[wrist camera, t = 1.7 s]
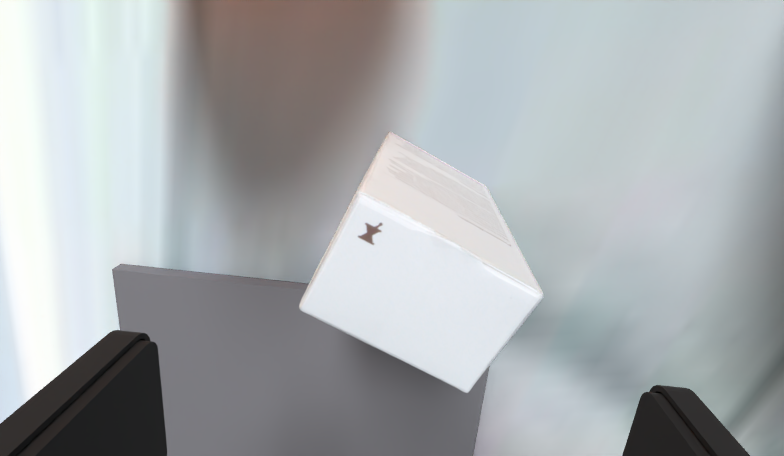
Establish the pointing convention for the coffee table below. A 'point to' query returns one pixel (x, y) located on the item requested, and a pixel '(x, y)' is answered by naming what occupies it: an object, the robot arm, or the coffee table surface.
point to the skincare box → (424, 268)
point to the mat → (282, 375)
